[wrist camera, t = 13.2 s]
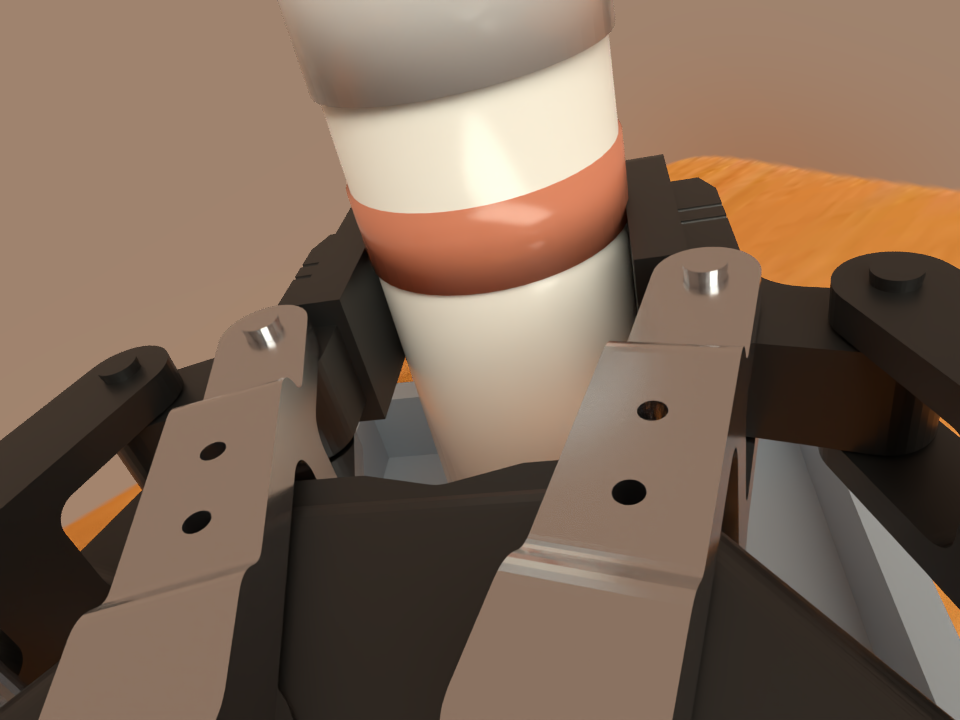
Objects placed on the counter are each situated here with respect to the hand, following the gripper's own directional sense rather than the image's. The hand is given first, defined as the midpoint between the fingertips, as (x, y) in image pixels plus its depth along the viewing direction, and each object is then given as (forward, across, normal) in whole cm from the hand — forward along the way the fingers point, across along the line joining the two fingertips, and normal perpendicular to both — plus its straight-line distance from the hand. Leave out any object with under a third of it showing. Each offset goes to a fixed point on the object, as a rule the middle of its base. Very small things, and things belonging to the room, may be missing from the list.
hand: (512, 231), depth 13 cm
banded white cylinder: (-2, 0, +8) cm, 9 cm away
